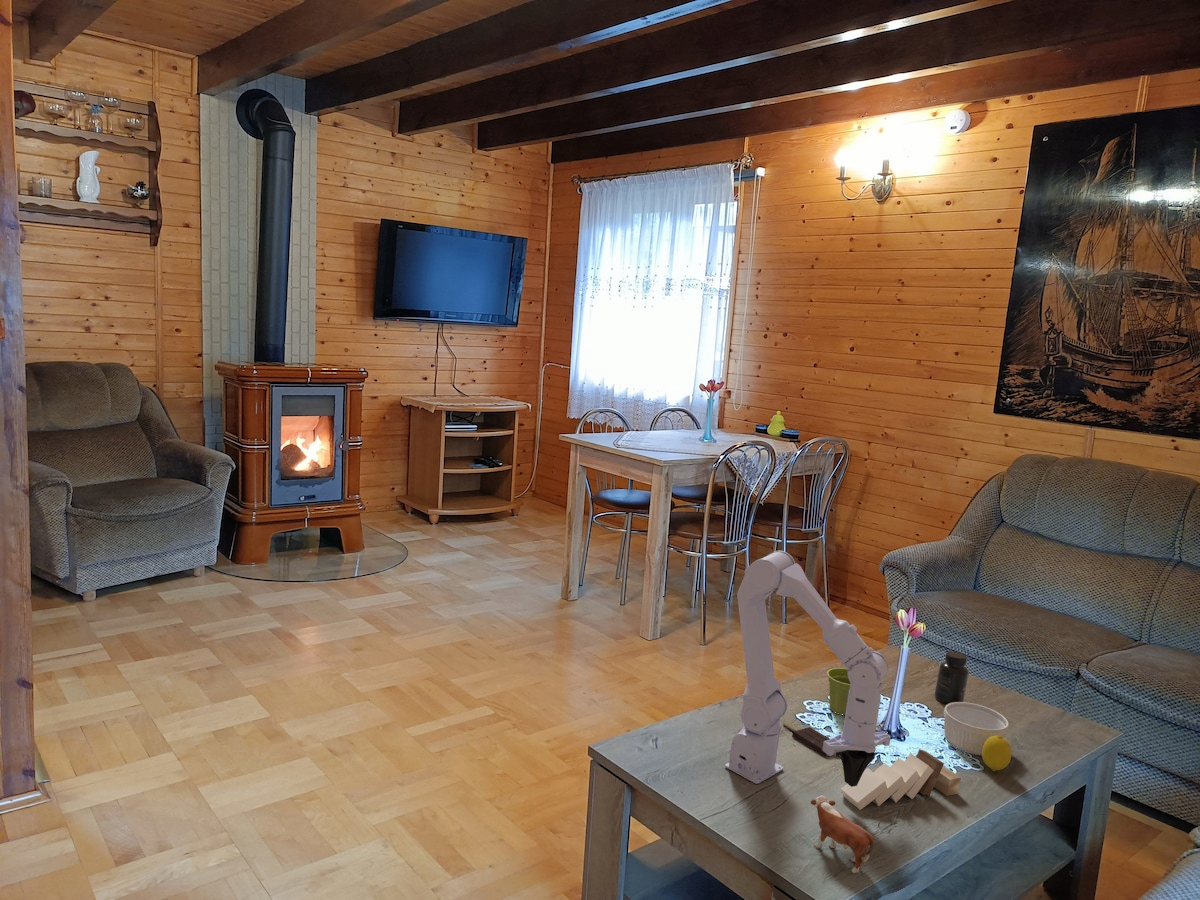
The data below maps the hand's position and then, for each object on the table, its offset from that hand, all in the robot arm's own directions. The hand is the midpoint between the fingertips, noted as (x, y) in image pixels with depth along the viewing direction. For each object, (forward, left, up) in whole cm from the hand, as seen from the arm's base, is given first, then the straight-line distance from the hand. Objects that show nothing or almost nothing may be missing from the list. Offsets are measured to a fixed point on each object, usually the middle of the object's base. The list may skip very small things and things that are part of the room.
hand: (850, 783), depth 164 cm
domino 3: (+9, -3, -3) cm, 10 cm away
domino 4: (+12, -5, -4) cm, 14 cm away
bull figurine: (-16, -7, -4) cm, 18 cm away
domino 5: (+16, -6, -4) cm, 18 cm away
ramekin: (+46, -5, -4) cm, 47 cm away
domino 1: (0, 0, -3) cm, 3 cm away
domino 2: (+5, -2, -3) cm, 6 cm away
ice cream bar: (+16, +18, -5) cm, 25 cm away
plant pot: (+35, +21, -4) cm, 41 cm away
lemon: (+38, -13, -4) cm, 40 cm away
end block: (+22, -8, -4) cm, 24 cm away
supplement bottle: (+64, +8, -4) cm, 65 cm away
